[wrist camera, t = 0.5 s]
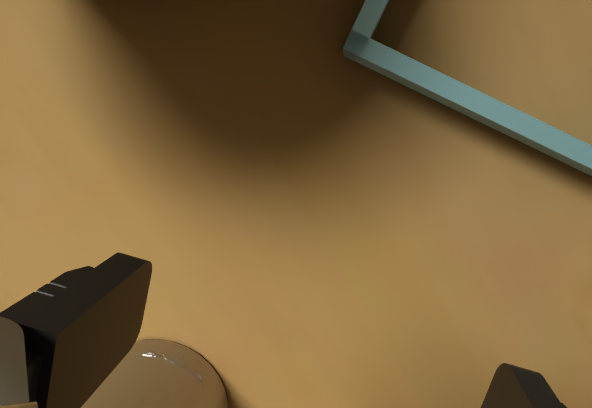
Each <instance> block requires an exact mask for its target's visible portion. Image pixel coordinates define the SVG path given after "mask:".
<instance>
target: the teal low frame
mask: <svg viewBox="0 0 592 408" xmlns="http://www.w3.org/2000/svg"><path fill="white" fill-rule="evenodd" d="M388 2H389V0H365V2H364V5H363V7H362V9H361V11H360V13H359V15H358V17H357V19H356V21H355V23H354V26H353V28H352V30H351V32H350V34H349V36H348V38H347V40H346V42H345V45H344V47H343V56H344V57H347V58H349V59H351V60H353V61H355V62H357V63H359V64H361V65H363V66H365V67H367V68H369V69H371V70H373V71H375V72H377V73H379V74H382V75H384V76H386V77H388V78H390V79H392V80H394V81H396V82H398V83H400V84H402V85H404V86H406V87H408V88H410V89H412V90H415V91H417V92H419V93H421V94H423V95H425V96H427V97H429V98H431V99H433V100H435V101H437V102H439V103H441V104H443V105H445V106H448V107H450V108H452V109H454V110H456V111H458V112H460V113H462V114H464V115H466V116H468V117H470V118H472V119H474V120H476V121H478V122H481V123H483V124H485V125H487V126H489V127H491V128H493V129H495V130H497V131H499V132H501V133H503V134H505V135H507V136H509V137H511V138H513V139H516V140H518V141H520V142H522V143H524V144H526V145H528V146H530V147H532V148H534V149H536V150H538V151H540V152H542V153H544V154H546V155H549V156H551V157H553V158H555V159H557V160H559V161H561V162H563V163H565V164H567V165H569V166H571V167H573V168H575V169H577V170H579V171H582V172H584V173H586V174H588V175H590V176H592V145H590V144H587V143H585V142H583V141H581V140H579V139H577V138H575V137H573V136H571V135H569V134H567V133H565V132H563V131H561V130H559V129H556V128H554V127H552V126H550V125H548V124H546V123H544V122H542V121H540V120H538V119H536V118H534V117H532V116H530V115H528V114H526V113H523V112H521V111H519V110H517V109H515V108H513V107H511V106H509V105H507V104H505V103H503V102H501V101H499V100H497V99H495V98H492V97H490V96H488V95H486V94H484V93H482V92H480V91H478V90H476V89H474V88H472V87H470V86H468V85H466V84H464V83H461V82H459V81H457V80H455V79H453V78H451V77H449V76H447V75H445V74H443V73H441V72H439V71H437V70H435V69H433V68H431V67H428V66H426V65H424V64H422V63H420V62H418V61H416V60H414V59H412V58H410V57H408V56H406V55H404V54H402V53H400V52H397V51H395V50H393V49H391V48H389V47H387V46H385V45H383V44H381V43H379V42H377V41H375V40H373V39H371V37H372V35H373V33H374V31H375V29H376V27H377V25H378V23H379V21H380V19H381V17H382V15H383V13H384V11H385V9H386V6H387V4H388Z"/></svg>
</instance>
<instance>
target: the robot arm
mask: <svg viewBox="0 0 592 408" xmlns="http://www.w3.org/2000/svg"><path fill="white" fill-rule="evenodd" d="M151 273H152V264H151V262H150V261H147V260H143V259H140V258H136V257H133V256H129V255H126V254H123V253H116V254H115V255H113V256H112V257H110V258H109V259H107V260H106V261H104V262H103V263H101V264H100V265H98V266H97V267H95V268H93V267H90V266H87V267H83V268H79V269H75V270H71V271H67V272H65V273H63V274H62V275H60V276H59V277H57V278H55V279H54V280H52V281H51V282H50V284H46V285H44V286H43V287H41V288H39V289H38V290H37V292H33V293H31V294H30V295H28V296H26V297H25V298H23V299H22V300H20V301H18V302H17V303H15V304H14V305H12V306H10V307H9V308H7V309H6V310H4V311H2V312H1V313H0V408H228V401H227V396H226V392H225V389H224V386H223V384H222V382H221V380H220V377H219V376H218V374H217V373H216V372H215V370H214V369H213V368H212V366H211V365H210V364H209V363H208V362H207V361H206V360H205V359H204V358H203V357H201V356H200V355H199V354H197V353H196V352H194V351H193V350H191V349H189V348H188V347H186V346H183V345H181V344H178V343H175V342H172V341H166V340H160V339H148V340H141V341H137V342H135V341H136V339H137V337H138V334H139V332H140V329H141V325H142V320H143V315H144V310H145V305H146V299H147V294H148V289H149V284H150V279H151ZM481 408H567V407H566V406H565V405H564V404H562V403H560V401H559V400H558V398H557V397H556V395H555V394H554V392H553V391H552V389H551V388H550V386H549V385H548V383H547V382H546V380H545V379H544V377H543V376H542V375H541V374H540V373H538V372H534V371H531V370H527V369H524V368H520V367H517V366H514V365H510V364H507V363H503V364H501V365H500V366H499V367H498V368H497V370H496V372H495V374H494V377H493V379H492V382H491V384H490V387H489V389H488V392H487V394H486V396H485V399H484V401H483V404H482V406H481Z"/></svg>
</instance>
